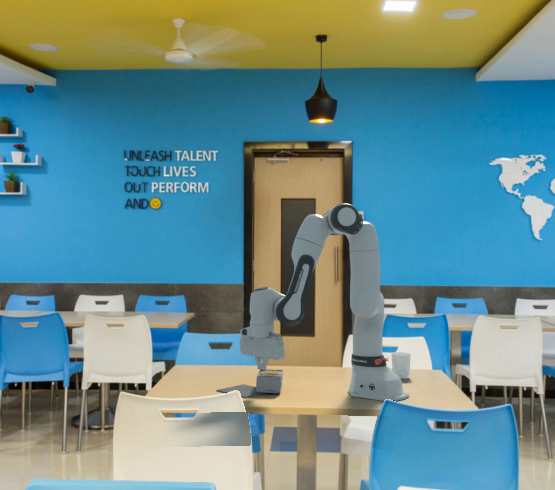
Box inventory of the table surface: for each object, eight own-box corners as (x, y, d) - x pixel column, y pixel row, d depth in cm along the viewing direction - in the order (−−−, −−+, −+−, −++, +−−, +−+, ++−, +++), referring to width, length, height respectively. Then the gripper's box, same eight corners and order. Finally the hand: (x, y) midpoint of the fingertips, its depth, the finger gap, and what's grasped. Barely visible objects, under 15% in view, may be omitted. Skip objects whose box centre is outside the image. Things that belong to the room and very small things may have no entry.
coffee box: (256, 374, 214) (259, 368, 230) (255, 392, 213) (258, 384, 229) (281, 376, 213) (282, 369, 229) (280, 393, 213) (281, 386, 229)
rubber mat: (272, 391, 219) (272, 390, 219) (245, 398, 208) (245, 397, 208) (243, 385, 230) (243, 384, 230) (216, 390, 219) (216, 389, 220)
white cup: (391, 378, 243) (391, 354, 243) (391, 375, 251) (391, 351, 251) (410, 379, 241) (410, 355, 241) (410, 376, 249) (410, 352, 249)
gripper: (288, 333, 209) (288, 372, 208) (249, 328, 223) (249, 364, 222) (276, 334, 204) (276, 374, 204) (237, 330, 218) (237, 367, 218)
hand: (261, 369), depth 213 cm, fingers closed
